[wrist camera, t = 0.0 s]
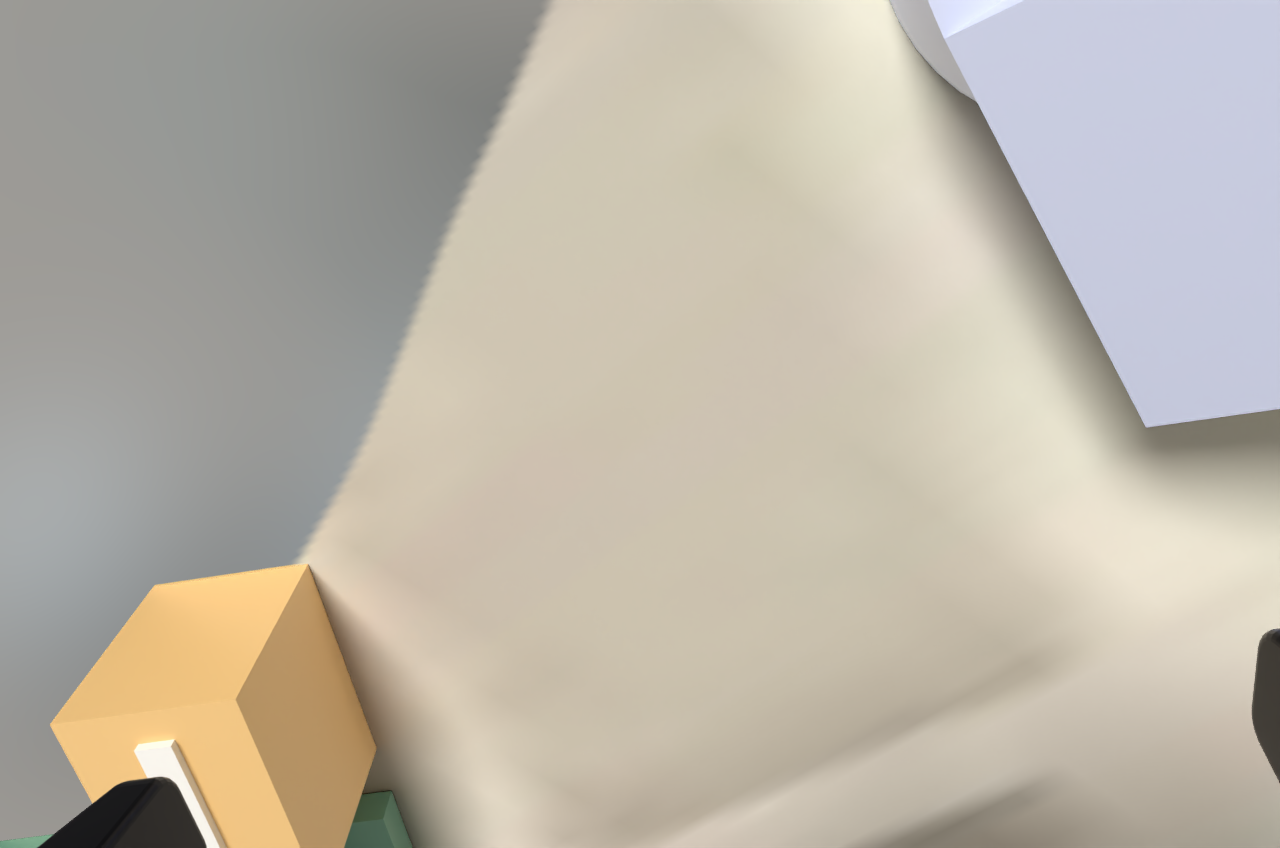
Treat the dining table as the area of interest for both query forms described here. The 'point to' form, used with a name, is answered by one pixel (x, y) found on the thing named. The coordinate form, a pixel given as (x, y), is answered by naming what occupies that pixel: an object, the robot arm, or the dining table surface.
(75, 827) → the robot arm
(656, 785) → the dining table surface
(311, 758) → the plug
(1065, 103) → the wedge on round base
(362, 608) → the dining table surface
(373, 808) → the socket board
